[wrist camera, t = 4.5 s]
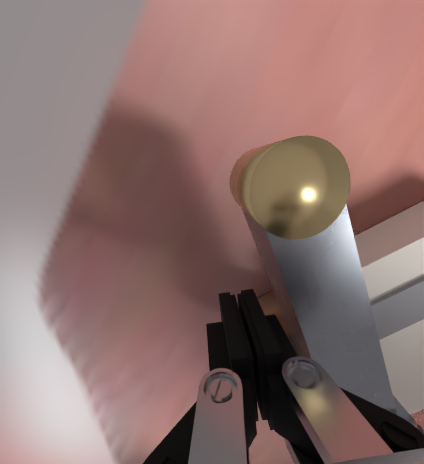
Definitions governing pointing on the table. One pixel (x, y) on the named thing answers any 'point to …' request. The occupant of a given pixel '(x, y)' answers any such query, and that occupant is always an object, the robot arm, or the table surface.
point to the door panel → (398, 299)
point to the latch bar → (314, 259)
